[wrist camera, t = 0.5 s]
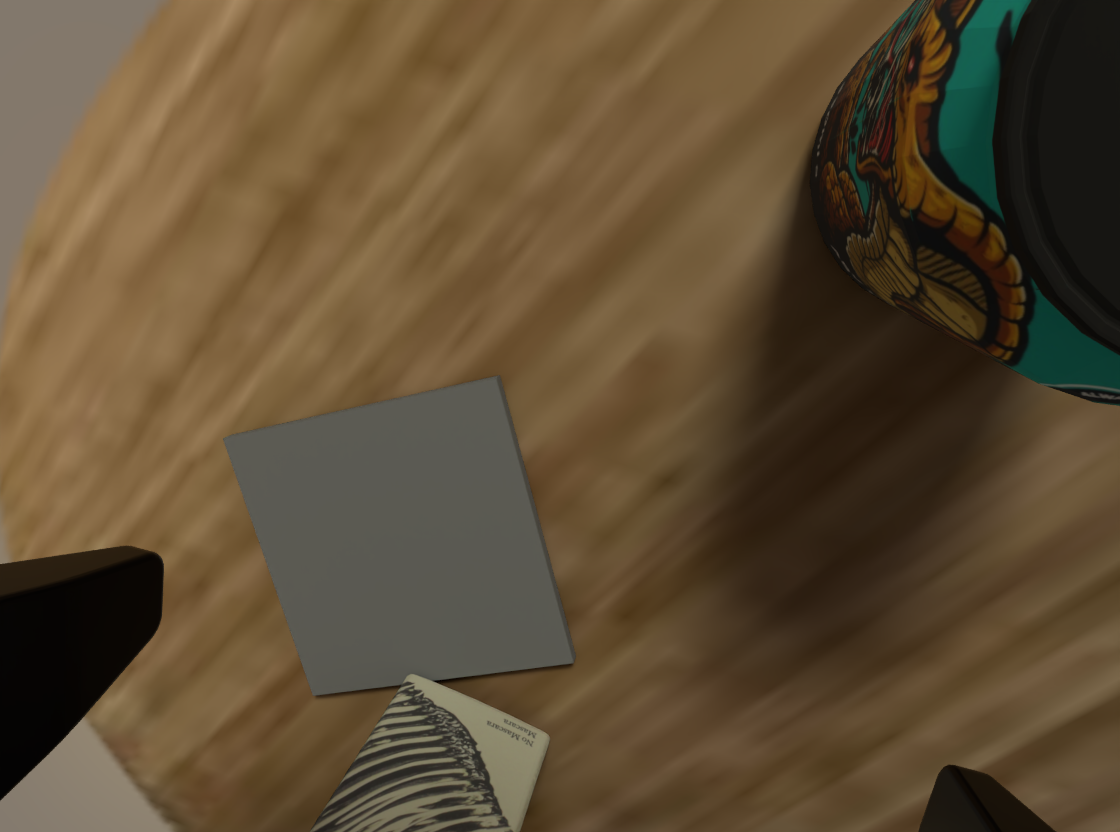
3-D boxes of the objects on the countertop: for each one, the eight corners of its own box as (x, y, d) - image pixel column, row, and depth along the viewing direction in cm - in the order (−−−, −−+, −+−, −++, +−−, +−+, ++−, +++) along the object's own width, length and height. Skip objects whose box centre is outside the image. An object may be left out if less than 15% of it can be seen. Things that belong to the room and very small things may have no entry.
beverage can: (746, 180, 20) (791, 137, 8) (973, -63, 18) (1450, -569, 6) (945, 370, 20) (1252, 580, 9) (1192, 153, 18) (2040, 50, 6)
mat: (575, 656, 24) (573, 663, 24) (318, 688, 26) (313, 695, 26) (499, 375, 22) (496, 378, 22) (230, 434, 24) (223, 438, 24)
